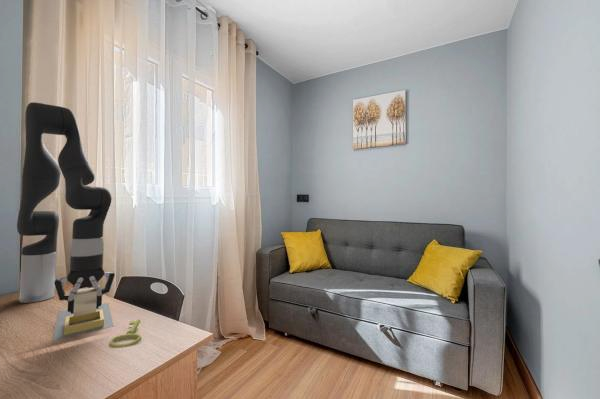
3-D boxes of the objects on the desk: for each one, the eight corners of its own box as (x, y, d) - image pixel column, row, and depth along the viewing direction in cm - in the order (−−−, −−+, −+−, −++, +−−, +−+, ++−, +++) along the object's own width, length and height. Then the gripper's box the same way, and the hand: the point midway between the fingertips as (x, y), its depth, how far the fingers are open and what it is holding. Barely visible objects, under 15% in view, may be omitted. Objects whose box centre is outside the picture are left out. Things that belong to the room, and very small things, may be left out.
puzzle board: (58, 315, 82) (58, 305, 83) (108, 305, 91) (108, 297, 91) (51, 344, 66) (52, 333, 66) (113, 329, 74) (113, 319, 74)
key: (140, 325, 78) (140, 318, 78) (141, 344, 68) (141, 336, 68) (111, 331, 74) (111, 323, 74) (108, 352, 64) (108, 344, 64)
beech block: (73, 310, 75) (74, 290, 75) (95, 306, 78) (96, 287, 78) (73, 316, 71) (74, 295, 71) (96, 312, 74) (96, 291, 74)
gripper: (115, 248, 82) (113, 300, 82) (55, 253, 73) (52, 312, 73) (118, 252, 77) (115, 308, 76) (52, 257, 67) (49, 321, 67)
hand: (84, 309), depth 75 cm, fingers closed on beech block, 5 cm apart
